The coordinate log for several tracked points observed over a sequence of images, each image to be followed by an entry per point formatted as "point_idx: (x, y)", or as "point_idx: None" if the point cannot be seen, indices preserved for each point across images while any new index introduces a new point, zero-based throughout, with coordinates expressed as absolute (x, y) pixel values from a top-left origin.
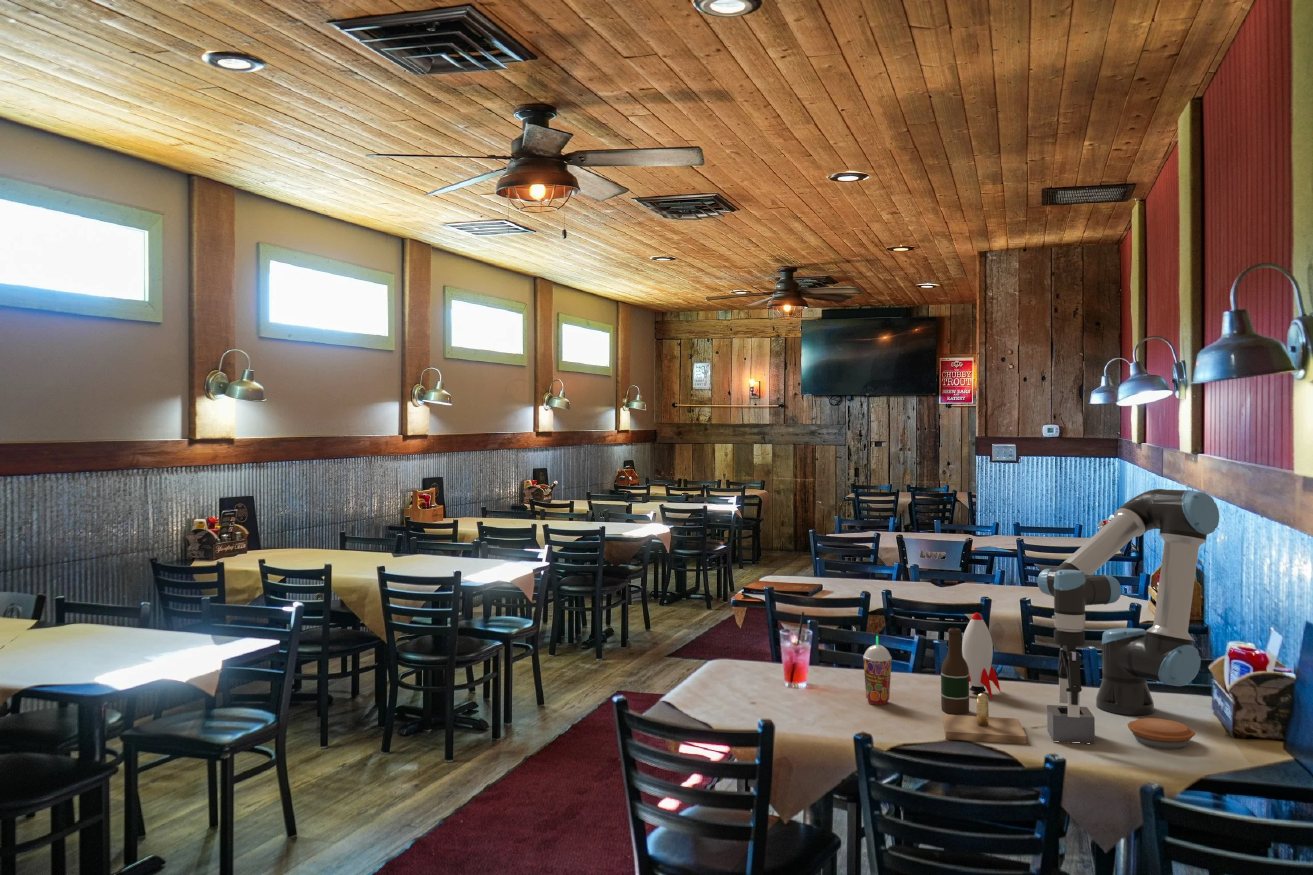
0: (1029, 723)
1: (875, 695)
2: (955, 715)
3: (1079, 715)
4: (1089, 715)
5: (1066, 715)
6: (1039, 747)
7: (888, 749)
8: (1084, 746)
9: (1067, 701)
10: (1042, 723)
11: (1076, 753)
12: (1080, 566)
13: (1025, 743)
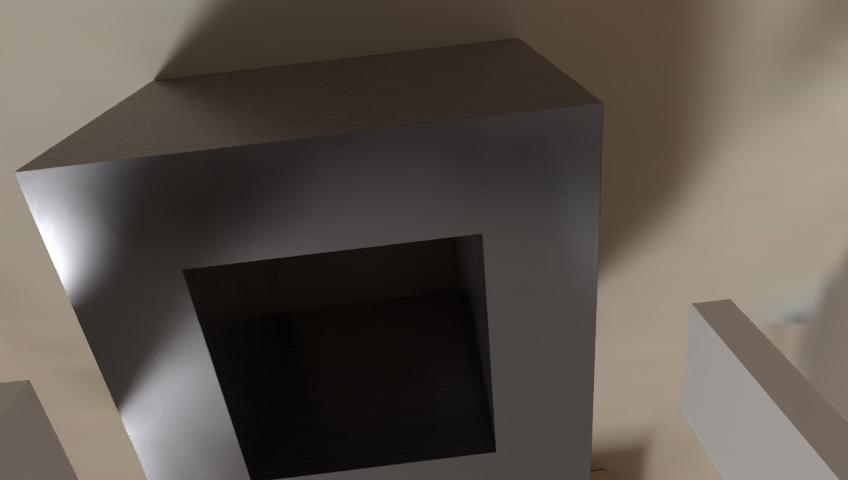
0: (106, 470)
1: None
2: None
3: (743, 313)
4: (505, 164)
5: (565, 403)
6: (665, 406)
7: None
8: None
9: (27, 425)
10: (51, 401)
11: (779, 197)
12: None
13: (607, 474)
